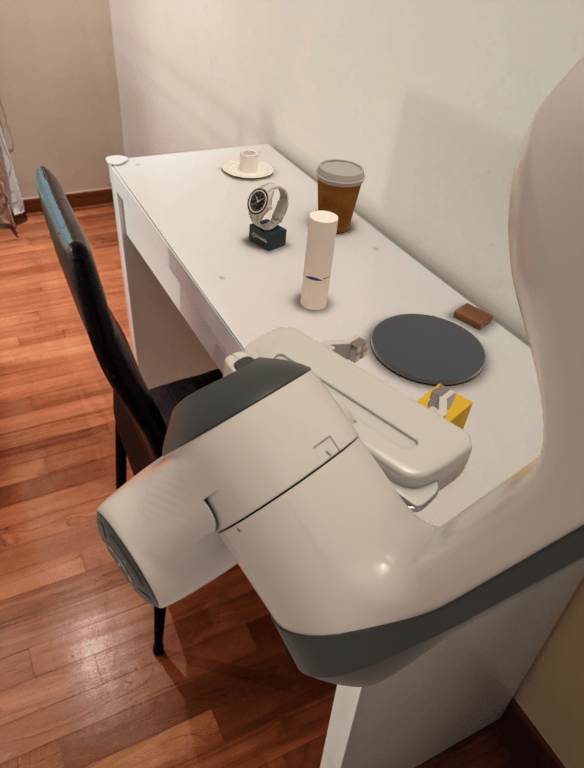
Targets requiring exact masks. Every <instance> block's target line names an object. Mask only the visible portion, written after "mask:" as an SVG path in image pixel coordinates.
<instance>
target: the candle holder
mask: <svg viewBox="0 0 584 768" xmlns="http://www.w3.org/2000/svg"><path fill="white" fill-rule="evenodd" d="M221 169H222V170H223V171H224V172H225V173H227V174H228V175H231V176H234V177H238V178H243V179H259V178H265V177H269V176H270V175H272V174H273V173H274V167H273V166H272V165H271V164H269V163H268V162H265V161H262V160H259V152H258V151H256V150H254V149H241V150H240V151H239V158H235V159H234V158H233V159H230V160H229V159H228V160H226V161H225V162H223V163H222V165H221Z"/></svg>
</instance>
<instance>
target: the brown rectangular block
mask: <svg viewBox="0 0 584 768" xmlns="http://www.w3.org/2000/svg"><path fill="white" fill-rule="evenodd" d="M452 317H453V318H455V319H457V320H458V321H460V322H462V323H464V324H466V325H468V326H470V327H472V328H474V329H476V330H478V331H480V330H482V329H483V328H485V327H486V326H487V325H489V324H490V323H492V321H493V318H494V315H493V314H492V313H489V312H487V311H485V310H483V309H481V308H479V307H477V306H474V305H473V304H471V303H469V302H466V303H465V304H463V305H461V306H460V307H458V308H457V309H455V310H454V312H453V315H452Z"/></svg>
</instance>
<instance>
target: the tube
mask: <svg viewBox="0 0 584 768" xmlns="http://www.w3.org/2000/svg"><path fill="white" fill-rule="evenodd" d="M337 225H338V216H337V215H336V214H334V213H332V212H329V211H322V210H319V211H318V210H314V211H311V212H310V213H309V218H308V228H307V235H306V236H307V237H306V246H305V254H304V255H305V256H304V263H303V274H302V283H301V294H300V305H301V306H302V307H303V308H304V309H307V310H311V311H320V310H323V309H325V308H326V307H327V304H328V296H329V290H330V282H331V274H332V267H333V262H334V261H333V260H334V255H335V254H334V253H335V246H336V240H337V233H336V232H337Z"/></svg>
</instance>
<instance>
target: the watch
mask: <svg viewBox="0 0 584 768" xmlns="http://www.w3.org/2000/svg"><path fill="white" fill-rule="evenodd" d="M275 190H278V192H279V198H278V200H277V203H276V205H275V208H274V209H273V206H272V205H273V197H274V196H275V195H274V194H275ZM289 205H290V204H289V193H288V191H287V190H286V188H284V187H282V186H281V185H279V184H276V183H274V182H267V183H264V184H261V185H260V186H259V187H256V188H254V189H253V190H252V191H251V192H250V194H249V195H248V197H247V203H246V206H247V210H248V216H249V219H250V221H251V223H249V227H248V228H249V231H248V241H249V242H252V243H254V244H255V245H257V246H259V247H260V248H262V249H264V250H265V251H267V252H270V251H272V250H276V249H279V248H282V247H284V246H286V243H287V242H286V241H287V228H284V227H283V226H281V225H280V224H281V223H282V222H283V220H284V218H285V216H286V214H287V211H288V208H289ZM272 209H273V212H272V215H271V218H270V219H268V218H265V219H264V217H265V215H266V214H268V213H269V212H270V211H272Z"/></svg>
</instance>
